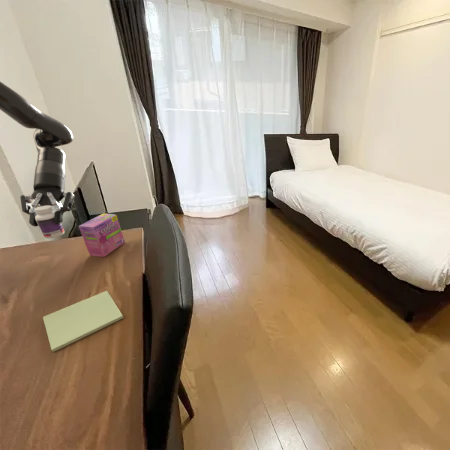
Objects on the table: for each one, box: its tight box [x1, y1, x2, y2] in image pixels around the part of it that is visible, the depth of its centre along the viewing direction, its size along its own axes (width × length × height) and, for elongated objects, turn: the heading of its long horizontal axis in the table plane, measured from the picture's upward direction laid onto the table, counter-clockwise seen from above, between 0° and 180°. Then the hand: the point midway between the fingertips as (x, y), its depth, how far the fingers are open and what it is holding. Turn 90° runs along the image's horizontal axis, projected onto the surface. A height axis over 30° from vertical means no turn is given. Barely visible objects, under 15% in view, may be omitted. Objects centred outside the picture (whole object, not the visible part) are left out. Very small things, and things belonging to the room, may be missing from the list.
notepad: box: [42, 290, 124, 353], centre depth 68 cm, size 14×14×1 cm
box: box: [78, 213, 126, 258], centre depth 96 cm, size 10×6×12 cm, turn 171°
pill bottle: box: [34, 205, 65, 239], centre depth 87 cm, size 5×5×10 cm
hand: (46, 224), depth 85 cm, fingers closed on pill bottle, 5 cm apart
